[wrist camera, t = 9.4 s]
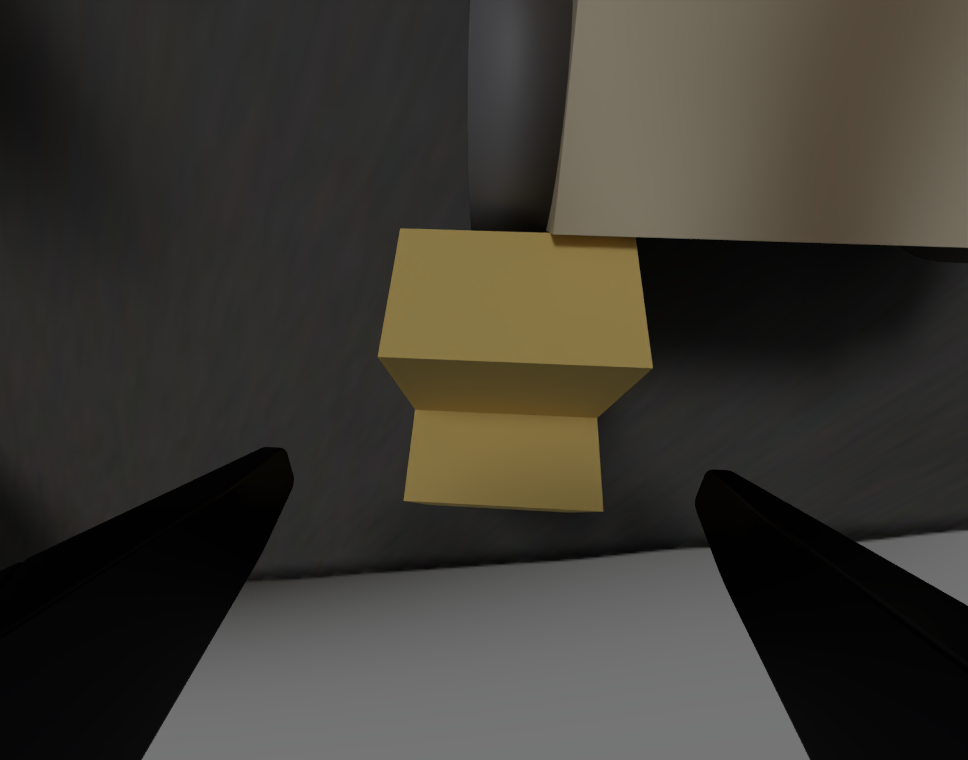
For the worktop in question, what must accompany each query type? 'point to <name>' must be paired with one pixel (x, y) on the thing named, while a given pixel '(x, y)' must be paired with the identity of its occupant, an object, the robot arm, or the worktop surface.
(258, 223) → the worktop surface
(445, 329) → the block
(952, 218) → the trolley
